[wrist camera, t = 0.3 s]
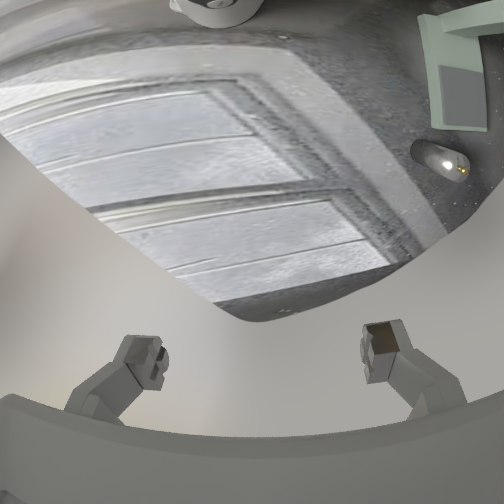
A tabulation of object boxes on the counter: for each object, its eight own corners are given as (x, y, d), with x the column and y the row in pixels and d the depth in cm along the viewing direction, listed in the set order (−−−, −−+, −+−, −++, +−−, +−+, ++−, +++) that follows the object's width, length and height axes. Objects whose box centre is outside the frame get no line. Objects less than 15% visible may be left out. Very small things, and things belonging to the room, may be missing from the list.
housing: (409, 139, 50) (455, 156, 36) (429, 139, 50) (477, 156, 36) (410, 163, 52) (453, 187, 38) (430, 162, 52) (475, 185, 38)
